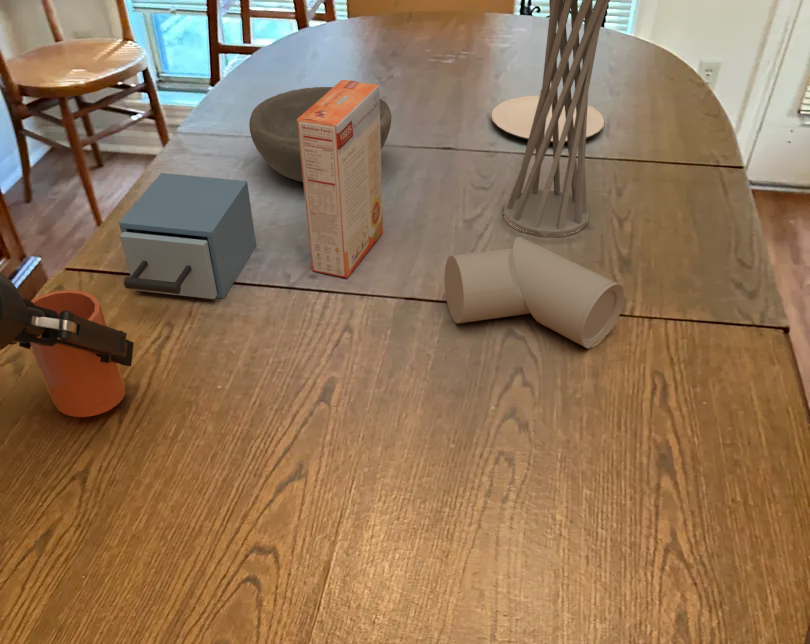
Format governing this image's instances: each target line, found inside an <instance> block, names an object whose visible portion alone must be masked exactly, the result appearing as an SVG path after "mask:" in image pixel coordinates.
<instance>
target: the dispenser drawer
mask: <svg viewBox="0 0 810 644" xmlns="http://www.w3.org/2000/svg"><path fill="white" fill-rule="evenodd" d="M133 231H134V233H130V232H123V233H121V234H120V235H119V239H120V243H121V246H122V251H123V253H124V257H125V261H126V265H127V269H128V272H129V276H126V277H125V278H124V279H123V285H124V288H125V289H130V290H134V291H138V292H146V293H147V292H148V293H154V294H155V293H157V294H164V295H173V296H183V297H191V298H199V299H200V298H201V299H207V300H208V299H209V300H216V299H217V298H216V296H217V290H216V280H215V275H214V270H213V265H212V259H211V254H210V249H209V243H208V238H207V237H201V236H192V235H182V234H173V233H163V232H153V231H144V230H134V229H133Z"/></svg>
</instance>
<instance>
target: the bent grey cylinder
mask: <svg viewBox="0 0 810 644" xmlns="http://www.w3.org/2000/svg"><path fill="white" fill-rule="evenodd" d="M444 293H445V299H446V303H447V308H448V311H449V314H450V317H451V319H452V320H453V322H454V323H455V324H464V323H472V322H477V321H478V322H479V321H486V320H493V319H500V318H508V317H515V316H523V315H530V314H531V316H532V317H533V319H534V320H535V321H536V322H537V323H538V324H540V325H542V326H544V327H547V328H548V329H550V330H551V331H554V332H555V333H557V334H559V335H560V336H563V337H565V338H566V339H568V340H570V341H572V342H574V343H576V344H578V345H580V346H582V347H584V348H586V349H593V348H595V347H596V346H599V344H600V343H602V342H603V341H604V340H605V338H604V339H602V340H601V341H599V342H597V343H596V344H594V345H593V346H592V347H591V348H589V347H590V346H591V345H592V344H593V343H594V342H595V341H597V340H598V339H600V338H602V337H604V336H606V335H607V336H608V335H609V334H610V332H612V330H613V328H614V326H615V325H616V323H617V321H618V319H619V317H620V315H621V312H622V309H623V306H624V302H625V289H624V287H623V285H621V283H618V282H615V281H614V280H611V279H609V278H607V277H605V276H603V275H601V274H598V273H597V272H595V271H592V270H590V269H588V268H586V267H584V266H582V265H580V264H577V263H575V262H574V261H572V260H569V259H567V258H565V257H563V256H561V255H559V254H557V253H555V252H553V251H552V250H551V251H550V250H548V249H546V248H545V247H542V246H540V245H538V244H536V243H534V242H532V241H529V240H527V239H525V238H523V237H522V236H517V237H515V239H514V241H513V245H512V247H511V248H510V247H509V248H503V249H501V248H500V249H494V250H486V251H485V250H484V251H478V252H470V253H468V252H467V253H461V254H452V255H449V256H448V258H447V259H446V263H445V267H444ZM607 336H606V337H607Z"/></svg>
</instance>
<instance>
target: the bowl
mask: <svg viewBox="0 0 810 644" xmlns="http://www.w3.org/2000/svg"><path fill="white" fill-rule="evenodd" d="M333 87H334V86H314V87H305V88H304V87H303V88H298V89H293V90H289V91H285V92H282V93H281V92H280V93H278V94H276V95H273V96H270V97H269V98H266V99H265V100H263V101H262V102H260V103H259V104H257V105H256V106H255V107H254V109H252V111H251V114H250V118H249V122H248V123H249V133H250V137H251V140H252V142H253V145H254V146H255V149H256V150H257V152H258V153H259V155H260V156H261V157H262V159H263V160H264V161H265V162H266V164H267V165H269V166H270V167H271V168H272V169H273V170H275V171H276V172H278V173H279V174H281V176H284V177H286V178H288V179H291V180H293V181H297V182H301V183H303V175H302V165H301V155H300V146H299V136H298V127H297V119H298V118H299V117H300V116H301V115H302V114H303V113H304V112H306V111H307V110H308V109H309V108H310V107H311V106H313V105H314V104H315V103H316V102H317V101H318V100H319V99H321V98H322V97H323V96H324V95H325V94H326V93H327V92H328V91H330V90H331V89H332V88H333ZM379 99H380V136H381V150H383V148H384V145H385V143H386V141H387V139H388V136H389V133H390V130H391V126H392V113H391V110H390V107H389V104H388V103H387V102H386V101H385V100H383V99H382V98H380V97H379Z"/></svg>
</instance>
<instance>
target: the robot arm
mask: <svg viewBox="0 0 810 644" xmlns="http://www.w3.org/2000/svg"><path fill="white" fill-rule="evenodd" d="M31 301H32V300H28V299H25V298H22V295H21V293H20V291H19V289H18V288H17V286H16V285H15V284H14V282H13V281H12V280H11V279H10V278H9V277H7V276H6V275H5V274H3V273H1V272H0V351H1V350H4V349H5V348H6V347H8V346H9V345H10V346H13V345H17V344H18V343H19V344H18V346H19V347H21V348H24V349H28V350H31V348H30V346H29V343H34V344H38V345H42V346H54V345H55V344H59V345H64V346H68V347H72V348H76V349H80V350H84V351H88V352H92V353H96V356H98V357H101V360H100V362H103V363H110V361H113V362H116V363H119V365H122V366H126V367H132V363H133V355H134V354H133V353H134V346H135V345H134V344H135V343H134V341H131V340H128V339H127V336H128V335H127V334H128V333H126V332H125V331H123V330H119V329H115V328H112V327H110V326H104V325H101V324H98V323H95V322H92V321H90V320H87V319H84V318H81V317H79V316H77V315H75V314H73V313H71V312H70V311H61V313H60V314H59V316H58V313H57V312H56V311H53V310H50V309H46V308H43V307H39V306H36V305H34V303H33V302H31ZM41 334H42V336H41V338H37V337H39V336H40V335H41ZM31 351H32V350H31Z"/></svg>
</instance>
